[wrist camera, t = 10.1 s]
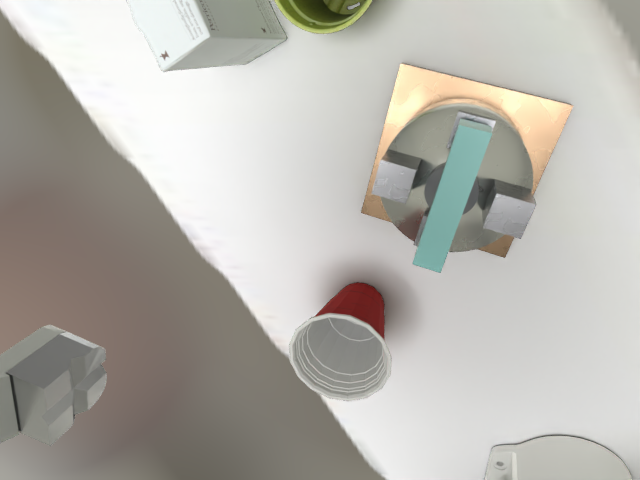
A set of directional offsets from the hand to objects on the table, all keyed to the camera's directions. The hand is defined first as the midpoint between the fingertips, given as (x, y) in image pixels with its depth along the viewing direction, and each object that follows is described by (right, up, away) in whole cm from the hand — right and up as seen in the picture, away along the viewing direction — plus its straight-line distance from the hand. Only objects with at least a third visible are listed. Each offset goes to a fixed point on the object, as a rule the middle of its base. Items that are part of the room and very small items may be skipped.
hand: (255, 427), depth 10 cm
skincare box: (-6, +28, +37) cm, 47 cm away
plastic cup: (+7, -3, +47) cm, 47 cm away
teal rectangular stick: (+13, +9, +30) cm, 34 cm away
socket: (+16, +12, +37) cm, 42 cm away
